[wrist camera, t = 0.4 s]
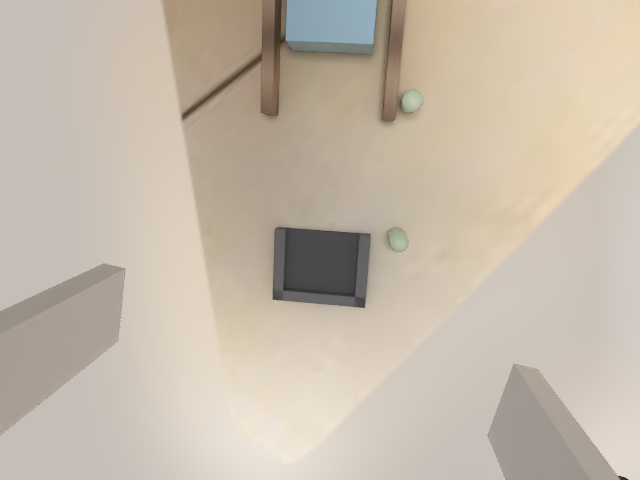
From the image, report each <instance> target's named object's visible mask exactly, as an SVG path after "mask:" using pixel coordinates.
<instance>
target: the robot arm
mask: <svg viewBox="0 0 640 480" xmlns="http://www.w3.org/2000/svg"><path fill="white" fill-rule="evenodd" d="M124 277H125V268H121V267H116V266H112V265H108V264H102V265H100V266H97V267H95V268H93V269H91V270H89V271H87V272H84V273H83V274H81V275H78V276H76V277H74V278H71V279H69V280H67V281H65V282H63V283H61V284H58V285H56V286H54V287H52V288H50V289H48V290H45V291H43V292H41V293H39V294H37V295H35V296H32V297H30V298H28V299H26V300H24V301H22V302H19V303H18V304H15V305H13V306H11V307H9V308H6V309H4V310H2V311H0V435H2V434H3V433H4V432H5V431H6V430H8V429H9V428H10V427H11V426H13V425H14V424H15V423H17V422H18V421H19V420H20V419H21V418H22V417H24V416H25V415H27V414H28V413H29V412H30V411H31V410H33V409H34V408H35V407H36V406H38V405H39V404H40V403H42V402H43V401H44V400H45V399H47V398H48V397H49V396H50V395H51V394H53V393H54V392H55V391H57V390H58V389H59V388H60V387H62V386H63V385H64V384H65V383H67V382H68V381H69V380H70V379H71V378H73V377H74V376H75V375H77V374H78V373H79V372H80V371H81V370H83V369H84V368H85V367H87V366H88V365H89V364H90V363H91V362H93V361H94V360H95V359H96V358H98V357H99V356H100V355H101V354H103V353H104V352H105V351H107V350H108V349H109V348H110V347H112V346H113V345H114V344H115V343H116V342H118V338H119V328H120V318H121V308H122V298H123V287H124ZM488 438H489V440H490V442H491V445H492V447H493V450H494V452H495V454H496V457H497V459H498V462H499V464H500V467H501V469H502V472H503V474H504V477H505V479H506V480H628V479H627V478H625V477H621V476H617V474H616V473H615V472H614V470H613V469H612V468H611V466H610V465H609V464H608V462H607V461H606V460H605V458H604V457H603V456H602V454H601V453H600V452H599V450H598V449H597V448H596V446H595V445H594V444H593V442H592V441H591V440H590V438H589V437H588V436H587V434H586V433H585V432H584V430H583V429H582V428H581V426H580V425H579V424H578V422H577V421H576V420H575V418H574V417H573V416H572V414H571V413H570V412H569V410H568V409H567V407H565V405H564V404H563V402H562V401H561V399H560V398H559V397H558V396H557V394H556V393H555V392H554V390H553V389H552V387H551V386H550V385H549V383H548V382H547V381H546V379H545V378H544V377H543V375H542V374H541V373H540V372H539V370H538V369H534V368H530V367H526V366H522V365H518V364H514V365H513V367H512V370H511V373H510V375H509V378H508V381H507V384H506V386H505V389H504V392H503V395H502V397H501V400H500V403H499V405H498V408H497V411H496V414H495V416H494V419H493V422H492V425H491V428H490V430H489V433H488Z"/></svg>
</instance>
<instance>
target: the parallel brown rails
mask: <svg viewBox="0 0 640 480" xmlns="http://www.w3.org/2000/svg"><path fill="white" fill-rule="evenodd" d="M405 4H406V0H392V7H391V20H390V32H389V44H388V56H387V68H386V81H385V93H384V105H383V117H382V120H392V121H394V120H395V117H396V106H397V95H398V83H399V72H400V61H401V49H402V38H403V27H404V15H405ZM280 34H281V0H263V26H262V77H261V113H264V114H267V115H278V103H279V69H280Z"/></svg>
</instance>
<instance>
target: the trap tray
mask: <svg viewBox="0 0 640 480" xmlns="http://www.w3.org/2000/svg"><path fill="white" fill-rule="evenodd" d="M369 248H370V234H361V233H347V232H333V231H320V230H306V229H292V228H279V227H277V228H276V229H275V242H274V277H273V300H284V301H295V302H306V303H317V304H328V305H340V306H351V307H362V308H365V297H366V285H367V273H368V260H369Z"/></svg>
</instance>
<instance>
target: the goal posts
mask: <svg viewBox="0 0 640 480" xmlns="http://www.w3.org/2000/svg"><path fill="white" fill-rule="evenodd" d="M422 102H423V96H422V94H421V93H420V92H419V91H418V90H409V91H408V92H406V94H405V95H404V96H403V98H402V99H401V102H400V107H401V109H402V110H403V111H404V112H406V113H412V112H414V111H415V110H417V109H418V108H419V107H420V106H421V105H422ZM388 238H389V242H390V246H391V248H392V249H393V250H394V251H396V252H402V251H404V250H405V249H406V248H407V247H408V239H407V237H406V235H405V232H404V231H403V230H402V229H400V228H394V229H392V230H391V231H390V232H389V234H388Z"/></svg>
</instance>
